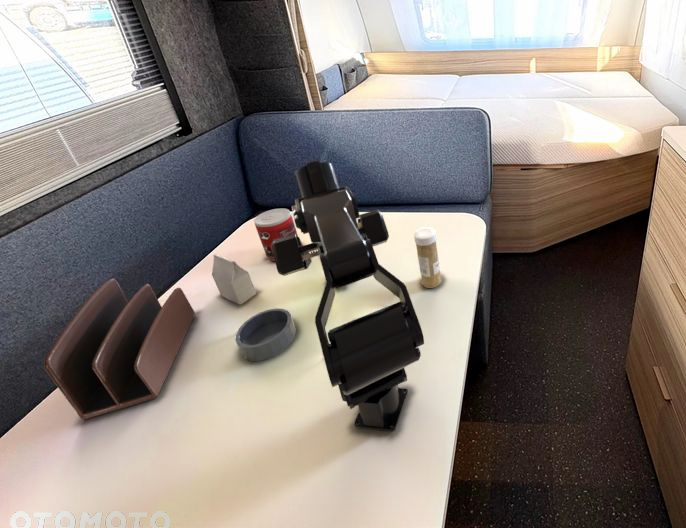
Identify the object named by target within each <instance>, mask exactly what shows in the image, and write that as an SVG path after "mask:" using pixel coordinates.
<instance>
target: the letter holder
mask: <svg viewBox="0 0 686 528" xmlns="http://www.w3.org/2000/svg"><path fill="white" fill-rule="evenodd" d="M195 315H196V312H195V310H194V309H193V307H192V305H191V303H190V301H189V300H188V298H187V296H186V294H185V292H184V290H183V289H182V288H181V287H176V288H175V289H173V291H172V292H171V294H169V296H168V297H167V299H166V300H165V302H164V303H163V305H161V302H159V299H158V297H157V296H156V294H155V292H154V290H153V288H152V286H151V284H148V283H146V284H144V285H142V286H141V287H140V288H139V289H138V291H136V293H135V294H134V295H133V296H132V297H131V299H130V300H129V301H128V300H127V298H126V296H125V294H124V292H123V290H122V288H121V286H120V285H119V282H118V281H117V279H115V278H110V279H108V280H106V281H105V282H104V283H103V284H102V285H101V286H99V287H98V289H97V290H95V291H94V292H93V293H92V294H91V295H90V296H89V298H88V299H87V300H86V301H85V302H84V303H83V304H82V305H81V307H80V308H79V309H78V311H77V312H76V313H75V314H74V315H73V317H72V318H71V320H70V321H69V322H68V323H67V325H66V326H65V327H64V329H63V330H62V332H61V333H60V334H59V336H58V337H57V339H56V340H55V341H54V343H53V345H52V346H51V348H50V349H49V351H48V352H47V354H46V356H45V358H44V359H43V367H44V368H43V369H44V370H45V372H46V374H48V376H49V377H50V379H51V380H52V382H53V383H54V384H55V386H56V387H57V388H58V389H59V391H60V392H61V393H62V395H63V396H64V397H65V399H66V400H67V401H68V403H69V404H70V405H71V407H72V409H74V411H75V412H76V413H77V415H78V417H79V418H80V419H81V420H83V421H87V420H88V419H91V418H95V417H98V416H101V415H104V414H108V413H111V412H115V411H118V410H121V409H125V408H128V407H132V406H135V405H137V404H141V403H144V402H147V401H151V400H155V399H157V398H158V396H159V393H160V391H161V390H162V387H163V385H164V383H165V381H166V379H167V377H168V374H169V372H170V370H171V368H172V366H173V363H174V361H175V359H176V357H177V355H178V353H179V350H180V348H181V346H182V344H183V342H184V340H185V337H186V335H187V333H188V331H189V328H190V326H191V324H192V322H193V320H194V317H195Z"/></svg>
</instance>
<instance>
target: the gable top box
mask: <svg viewBox="0 0 686 528" xmlns="http://www.w3.org/2000/svg"><path fill="white" fill-rule="evenodd" d="M211 277H212V279H213V281H214V283H215V285H216V288H217V291H218V292H219V294H220V296H221V297H223V298H225V299H226V300H229V301H231V302H233V303H236V304H238V305H240V306H241V305H242V304H244V303H246V302H247V301H248V300H250V299H251V298H252V297H253V296H255V295H257V291H256V288H255V285H254V283H253V280H252V277H251V275H250V273H249V271H247V270H246V269H244V268H243V267H241V266H240V265H238V263H237V262H236V261H235V260H232V259H229V258H227V257H224V256H221V255H219V254H217V253H215V254H213V264H212V269H211Z"/></svg>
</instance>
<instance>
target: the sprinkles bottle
mask: <svg viewBox="0 0 686 528" xmlns="http://www.w3.org/2000/svg"><path fill="white" fill-rule="evenodd" d="M413 238H414V243H415V246H416V252H417V253H416V255H417V260H418V266H419V273H420V276H421V285H422V286H423V287H425V288H428V289H432V288H436V287H438V286H439V285H440V284H441V283H442V279H443V278H442V275H441V266H440V258H439V252H438V247H437V232H436V230H435V229H434V228H433V227H429V226H424V227H423V226H422V227H420V228H418V229H416V231H415V232H414V233H413Z"/></svg>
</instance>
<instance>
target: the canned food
mask: <svg viewBox="0 0 686 528" xmlns="http://www.w3.org/2000/svg"><path fill="white" fill-rule="evenodd" d="M253 222H254V223H253V224H254V226H255V229H256V233H257V235H258V237H259V240H260V243H261V246H262V248H263V251H264V254H265V256H266V258H267V259H268V260H269V261H271V262H275V259H274V255H273V251H272V247H271V244H272V242H273V241H274V240H275V239H279V238H282V237H286V236H289V235H293V234H296V237H299V235H298V231H297V227H296V224H295V221H294V217H293V214H292V212H291V211H290V210H289V209H288V208H279V207H278V208H272V209H270V210H266V211H263V212H261V213H260V214H258V215H256V217H255V218H254V220H253Z"/></svg>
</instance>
